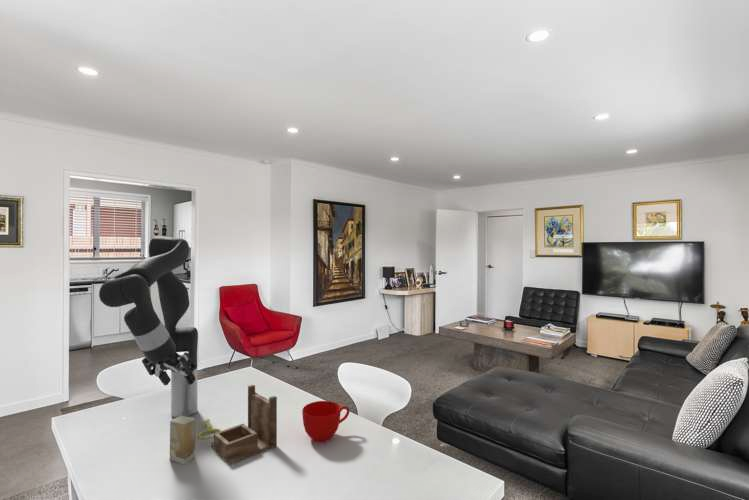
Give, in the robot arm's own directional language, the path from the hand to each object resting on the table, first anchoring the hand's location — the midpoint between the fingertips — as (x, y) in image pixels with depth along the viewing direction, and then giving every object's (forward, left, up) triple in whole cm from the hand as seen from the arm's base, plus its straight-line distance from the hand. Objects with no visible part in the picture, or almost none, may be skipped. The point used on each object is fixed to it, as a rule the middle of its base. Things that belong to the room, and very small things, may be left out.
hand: (180, 382), depth 112 cm
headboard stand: (+1, +19, -25) cm, 32 cm away
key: (-17, +15, -26) cm, 35 cm away
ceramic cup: (+15, +42, -26) cm, 52 cm away
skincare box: (-5, +2, -26) cm, 26 cm away
